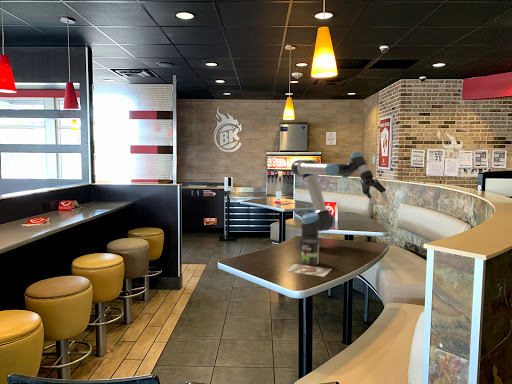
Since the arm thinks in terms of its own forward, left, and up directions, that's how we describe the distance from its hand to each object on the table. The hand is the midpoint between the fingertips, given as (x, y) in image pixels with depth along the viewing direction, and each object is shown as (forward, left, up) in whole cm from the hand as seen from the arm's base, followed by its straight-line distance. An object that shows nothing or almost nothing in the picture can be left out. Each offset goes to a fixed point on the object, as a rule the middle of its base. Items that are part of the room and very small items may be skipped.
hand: (380, 202), depth 242 cm
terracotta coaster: (-30, -47, -35) cm, 66 cm away
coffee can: (-34, -32, -36) cm, 59 cm away
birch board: (-30, -47, -36) cm, 66 cm away
